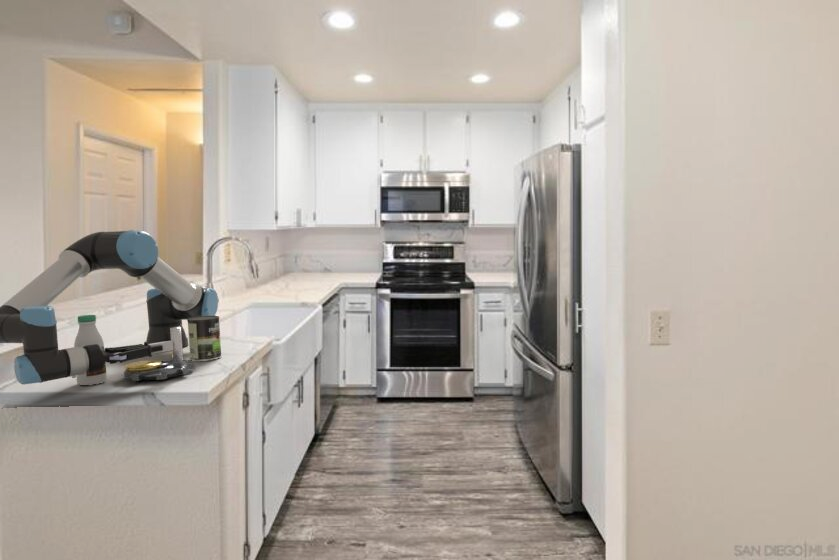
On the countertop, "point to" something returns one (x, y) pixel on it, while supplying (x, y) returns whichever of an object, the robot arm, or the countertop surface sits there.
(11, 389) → the countertop surface
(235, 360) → the countertop surface
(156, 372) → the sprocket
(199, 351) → the coffee can
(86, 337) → the milk bottle
